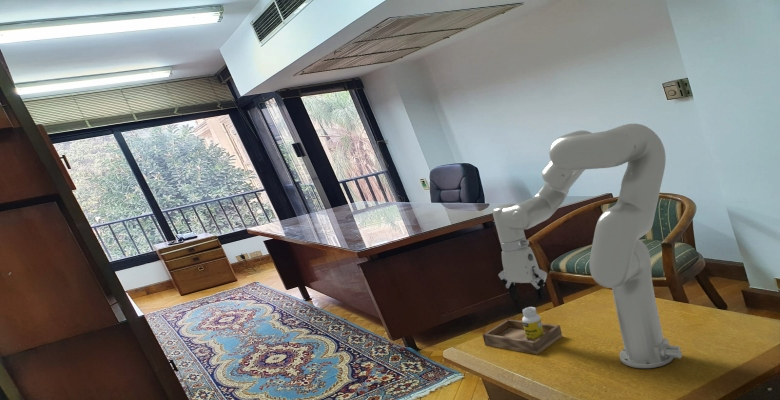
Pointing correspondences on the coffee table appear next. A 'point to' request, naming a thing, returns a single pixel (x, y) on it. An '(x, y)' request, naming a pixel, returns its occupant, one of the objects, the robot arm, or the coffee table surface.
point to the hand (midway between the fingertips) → (528, 299)
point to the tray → (520, 337)
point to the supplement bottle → (532, 324)
